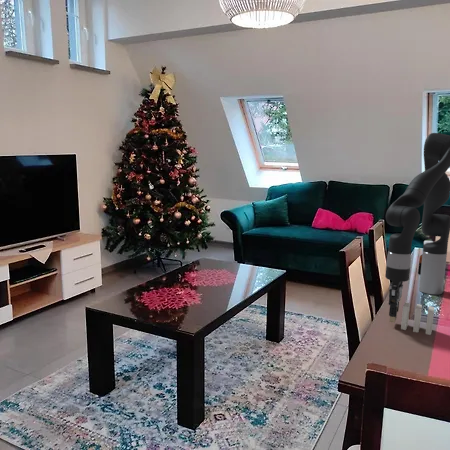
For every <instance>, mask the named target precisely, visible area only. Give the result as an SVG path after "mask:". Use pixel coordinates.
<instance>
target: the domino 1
mask: <svg viewBox="0 0 450 450" xmlns="http://www.w3.org/2000/svg"><path fill="white" fill-rule="evenodd" d="M397 297H398V296H397ZM392 302H395V300H392ZM397 308H398V306H397ZM397 317H398V312H397V313H396V317H391V316H389V323H396V320H397Z"/></svg>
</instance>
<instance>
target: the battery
mask: <svg viewBox="0 0 450 450" xmlns="http://www.w3.org/2000/svg"><path fill="white" fill-rule="evenodd" d="M422 255H423V253H421V255H419V256H418V257H419V259H418V266H417V267H418V269H417V274H418V275H421V265H422Z"/></svg>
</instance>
